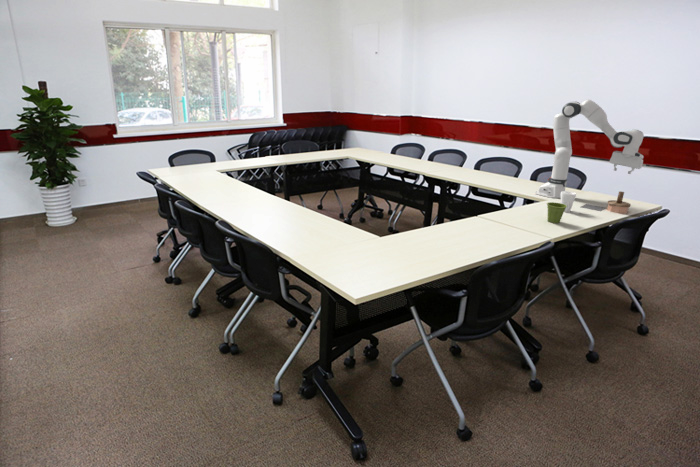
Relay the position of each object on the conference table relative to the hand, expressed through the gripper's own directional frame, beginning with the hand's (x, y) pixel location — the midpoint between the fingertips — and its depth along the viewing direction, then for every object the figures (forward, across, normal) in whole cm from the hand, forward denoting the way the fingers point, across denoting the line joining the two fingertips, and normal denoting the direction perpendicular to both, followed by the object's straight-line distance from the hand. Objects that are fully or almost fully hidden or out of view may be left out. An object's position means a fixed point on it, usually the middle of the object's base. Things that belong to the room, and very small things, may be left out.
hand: (621, 172), depth 315 cm
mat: (+30, -6, -9) cm, 32 cm away
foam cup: (+37, -15, -34) cm, 52 cm away
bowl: (+27, +8, -5) cm, 29 cm away
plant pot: (+46, -8, -65) cm, 80 cm away
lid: (+22, +8, -6) cm, 25 cm away
